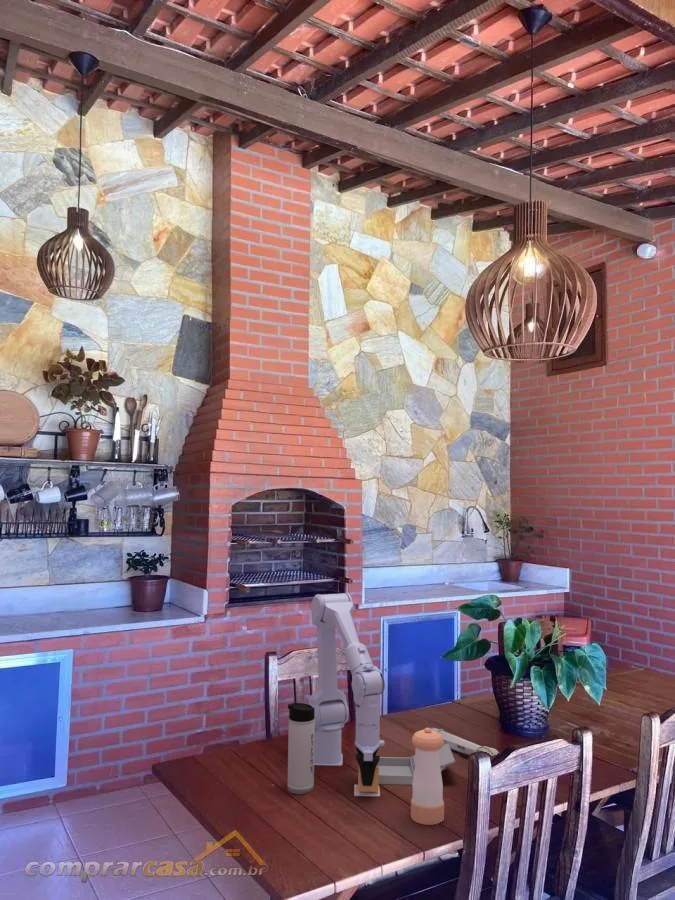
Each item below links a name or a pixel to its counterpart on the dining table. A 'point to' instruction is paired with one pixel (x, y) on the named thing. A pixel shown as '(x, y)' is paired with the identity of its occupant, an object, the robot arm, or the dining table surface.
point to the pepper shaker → (427, 778)
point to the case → (407, 767)
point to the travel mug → (301, 748)
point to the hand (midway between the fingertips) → (367, 780)
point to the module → (374, 785)
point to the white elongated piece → (463, 744)
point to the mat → (360, 793)
